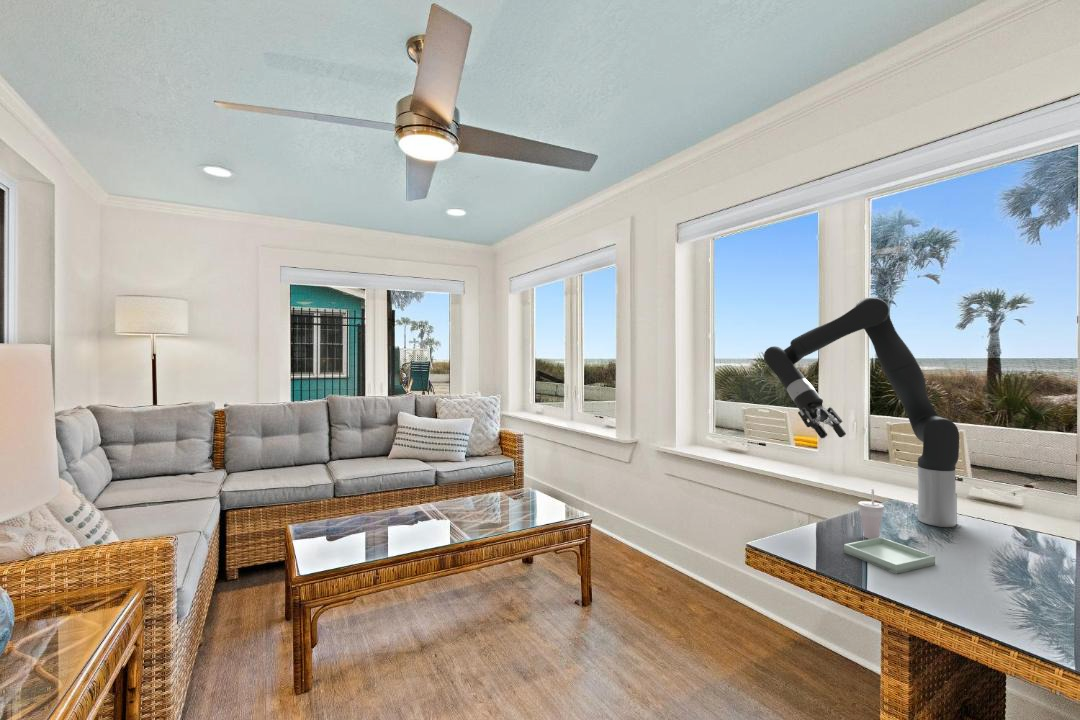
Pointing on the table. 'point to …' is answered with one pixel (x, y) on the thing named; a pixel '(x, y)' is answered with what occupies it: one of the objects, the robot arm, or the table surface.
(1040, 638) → the table surface
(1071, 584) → the table surface
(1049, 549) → the table surface
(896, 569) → the tray
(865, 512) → the smoothie
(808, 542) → the table surface
